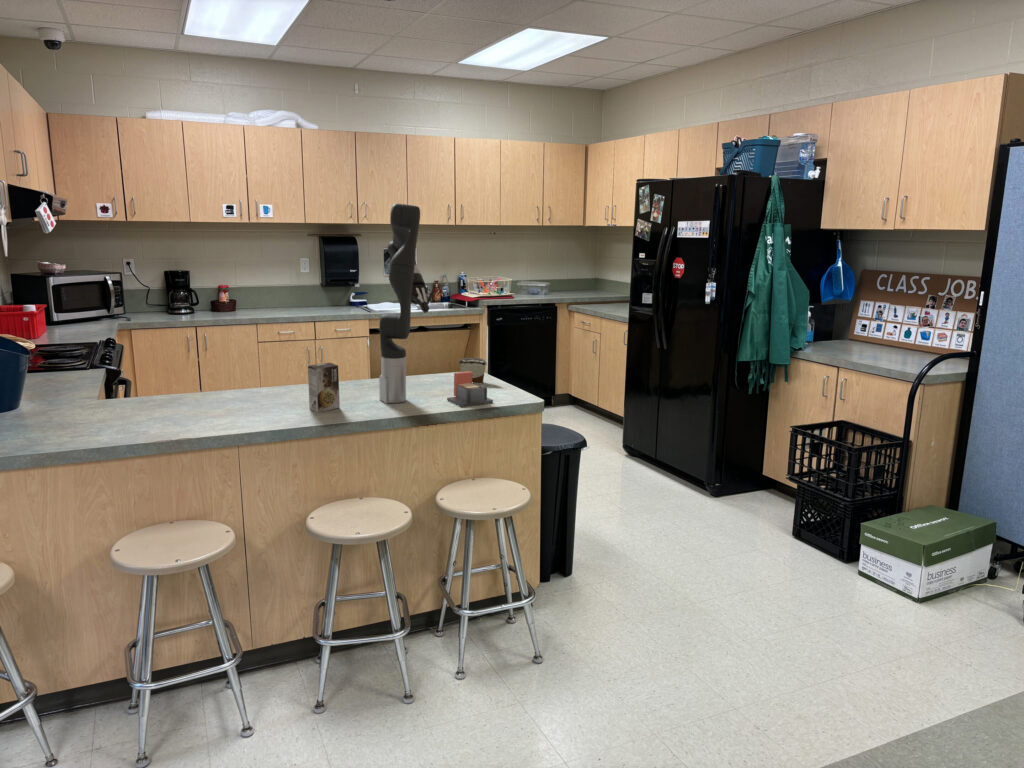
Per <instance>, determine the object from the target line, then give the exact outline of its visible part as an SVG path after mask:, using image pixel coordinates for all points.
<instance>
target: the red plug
mask: <svg viewBox="0 0 1024 768" xmlns="http://www.w3.org/2000/svg"><path fill="white" fill-rule="evenodd" d="M458 385H461V386H463V387H466V388H468V389H473V388H479V386H477V385H474V383H472V372H470V371H467V372H460V371H459V372H458V371H457V372H454V373H453V397H457V386H458Z"/></svg>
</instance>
